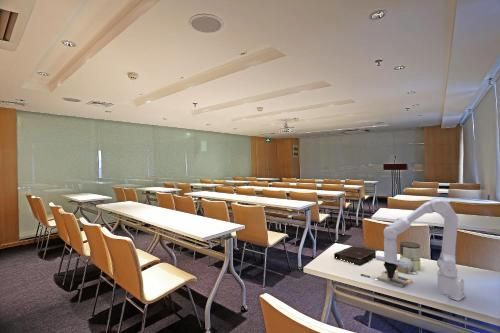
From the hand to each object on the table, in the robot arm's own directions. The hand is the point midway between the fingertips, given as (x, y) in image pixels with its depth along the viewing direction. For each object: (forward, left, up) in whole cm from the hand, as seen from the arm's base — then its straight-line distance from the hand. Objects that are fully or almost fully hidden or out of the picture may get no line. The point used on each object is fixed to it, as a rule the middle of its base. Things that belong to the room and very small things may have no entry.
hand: (390, 278), depth 131 cm
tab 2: (+2, -6, -2) cm, 7 cm away
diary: (+34, -23, -4) cm, 41 cm away
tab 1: (+3, 0, -2) cm, 3 cm away
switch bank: (0, -3, -3) cm, 4 cm away
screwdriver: (+10, +3, -3) cm, 11 cm away
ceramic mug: (+2, -22, -3) cm, 22 cm away
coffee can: (+5, -32, -3) cm, 32 cm away
